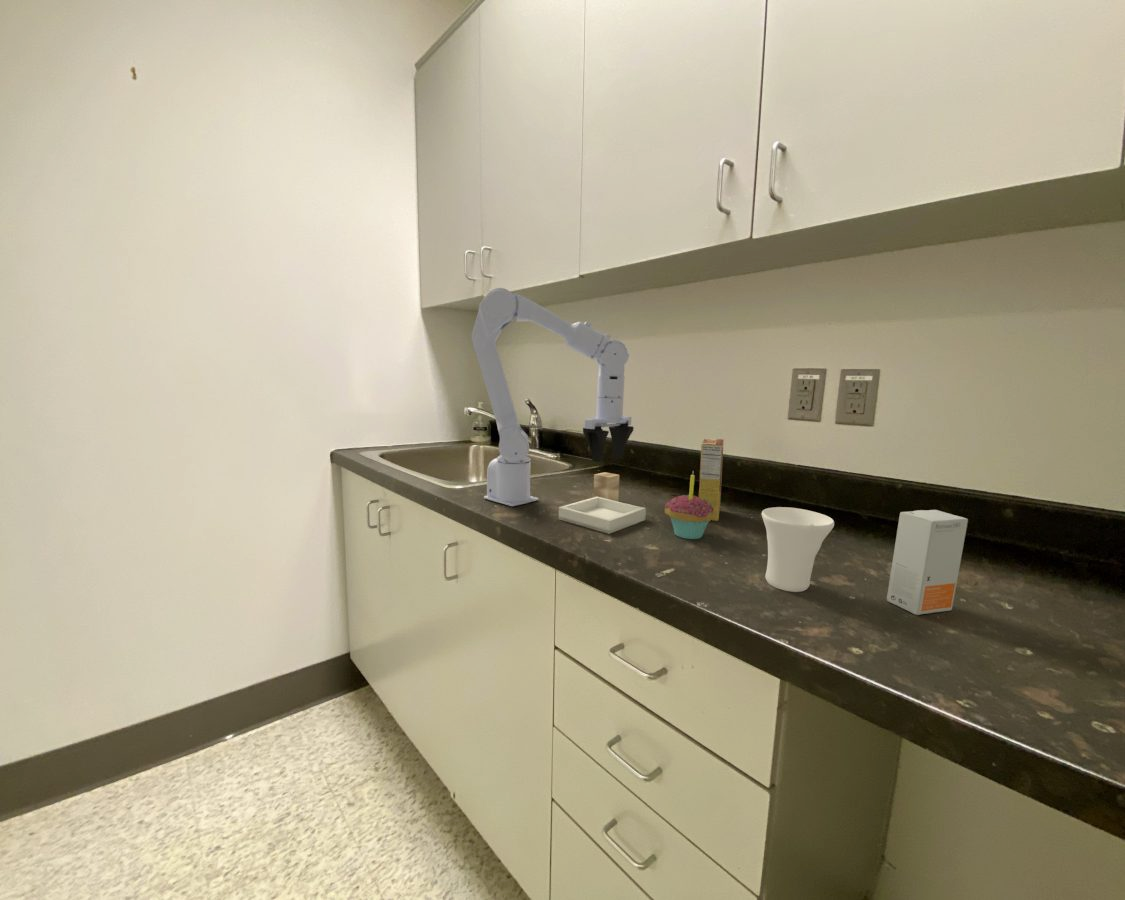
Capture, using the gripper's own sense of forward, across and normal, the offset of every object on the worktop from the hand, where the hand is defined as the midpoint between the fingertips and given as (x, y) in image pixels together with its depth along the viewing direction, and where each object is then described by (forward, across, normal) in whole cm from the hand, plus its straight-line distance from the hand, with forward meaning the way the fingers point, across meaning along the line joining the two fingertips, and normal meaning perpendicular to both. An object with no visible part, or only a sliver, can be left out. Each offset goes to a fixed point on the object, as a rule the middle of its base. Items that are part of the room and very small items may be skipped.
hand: (607, 459), depth 106 cm
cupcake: (+10, -8, -24) cm, 27 cm away
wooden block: (+9, 0, 0) cm, 9 cm away
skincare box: (+10, -12, -58) cm, 60 cm away
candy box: (+10, +7, -21) cm, 24 cm away
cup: (+10, -17, -44) cm, 48 cm away
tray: (+9, -12, -8) cm, 17 cm away
